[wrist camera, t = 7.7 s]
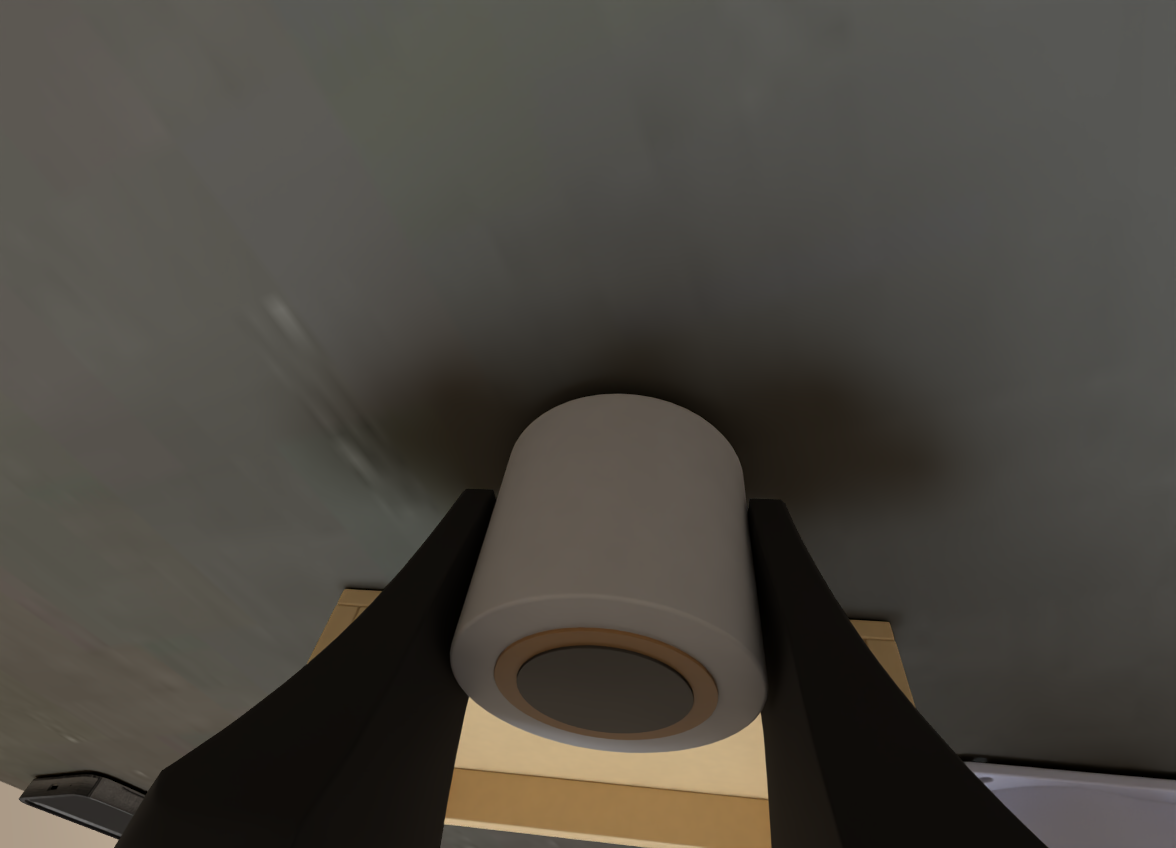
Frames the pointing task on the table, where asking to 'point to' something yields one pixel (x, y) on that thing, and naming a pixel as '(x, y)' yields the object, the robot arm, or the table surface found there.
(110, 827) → the phone
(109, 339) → the table surface
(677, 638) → the tape roll
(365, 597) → the tray
